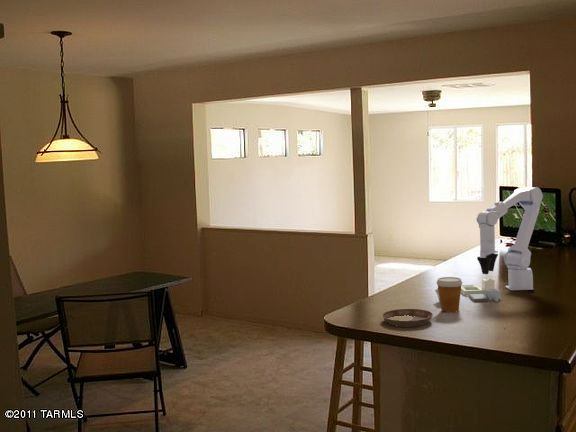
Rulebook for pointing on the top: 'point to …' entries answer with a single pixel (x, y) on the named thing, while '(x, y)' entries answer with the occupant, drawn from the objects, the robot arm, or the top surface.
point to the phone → (478, 298)
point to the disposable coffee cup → (449, 293)
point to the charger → (488, 284)
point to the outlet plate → (471, 289)
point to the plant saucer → (418, 320)
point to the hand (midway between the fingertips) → (488, 272)
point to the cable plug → (492, 294)
